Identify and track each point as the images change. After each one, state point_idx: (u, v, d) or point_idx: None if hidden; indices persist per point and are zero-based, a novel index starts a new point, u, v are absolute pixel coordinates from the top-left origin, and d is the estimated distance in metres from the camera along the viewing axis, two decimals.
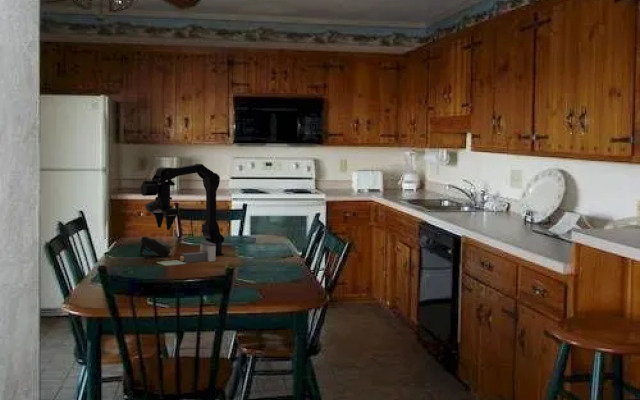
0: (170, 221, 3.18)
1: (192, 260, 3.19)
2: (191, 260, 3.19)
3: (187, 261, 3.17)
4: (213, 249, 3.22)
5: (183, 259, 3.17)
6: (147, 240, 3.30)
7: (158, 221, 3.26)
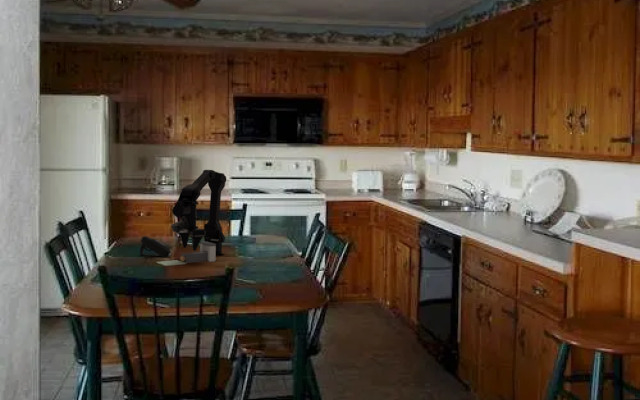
0: (196, 242, 3.15)
1: (193, 260, 3.19)
2: (192, 260, 3.18)
3: (188, 261, 3.17)
4: (213, 249, 3.22)
5: (184, 259, 3.17)
6: (147, 240, 3.30)
7: (183, 241, 3.23)
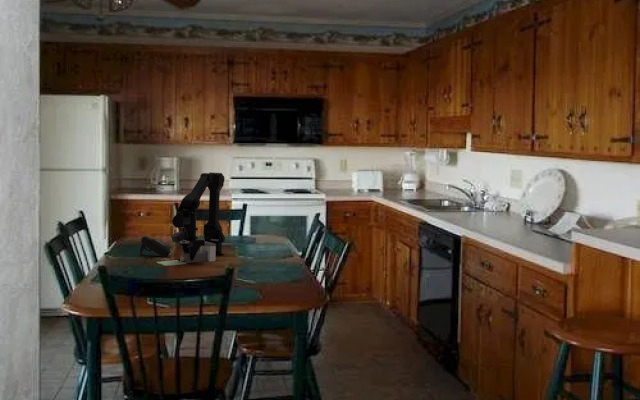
0: (194, 251, 3.17)
1: (192, 260, 3.19)
2: (191, 260, 3.19)
3: (188, 261, 3.17)
4: (213, 249, 3.22)
5: (184, 259, 3.17)
6: (147, 240, 3.30)
7: (186, 252, 3.21)
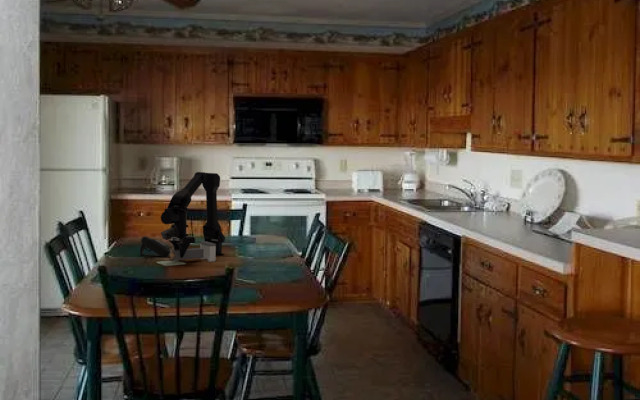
0: (184, 248, 3.14)
1: (183, 257, 3.16)
2: None
3: (177, 258, 3.14)
4: (213, 249, 3.22)
5: (173, 256, 3.14)
6: (147, 240, 3.30)
7: (176, 249, 3.18)
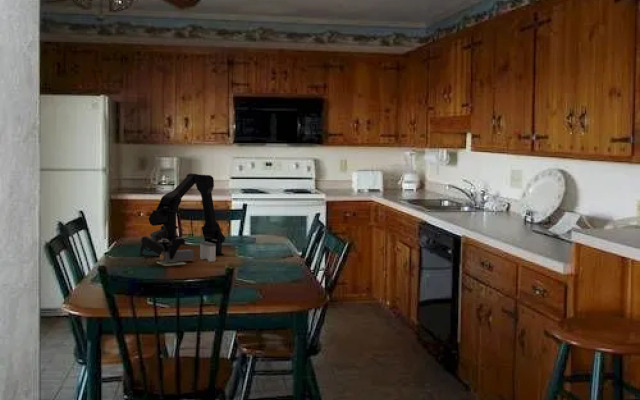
0: (173, 250, 3.11)
1: None
2: None
3: (167, 259, 3.11)
4: (213, 249, 3.22)
5: (163, 257, 3.11)
6: (147, 240, 3.30)
7: None
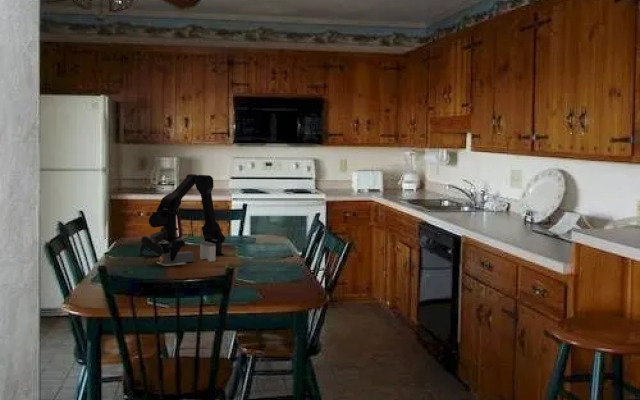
0: (174, 252, 3.10)
1: None
2: None
3: (167, 261, 3.11)
4: (213, 249, 3.22)
5: (163, 259, 3.11)
6: (147, 240, 3.30)
7: (165, 252, 3.16)
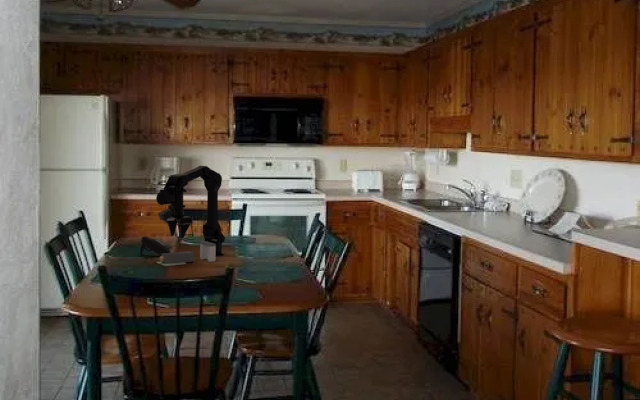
0: (184, 229, 3.13)
1: (172, 260, 3.13)
2: (171, 260, 3.12)
3: (167, 261, 3.11)
4: (213, 249, 3.22)
5: (163, 259, 3.11)
6: (147, 240, 3.30)
7: (171, 229, 3.21)
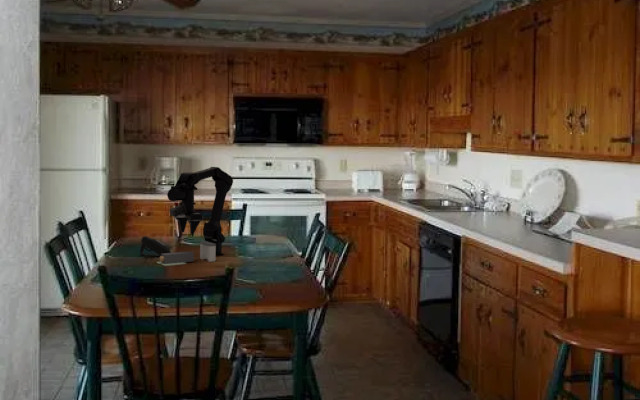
0: (194, 226, 3.20)
1: (172, 260, 3.13)
2: (171, 260, 3.12)
3: (167, 261, 3.11)
4: (213, 249, 3.22)
5: (163, 259, 3.11)
6: (147, 240, 3.30)
7: (181, 226, 3.28)
